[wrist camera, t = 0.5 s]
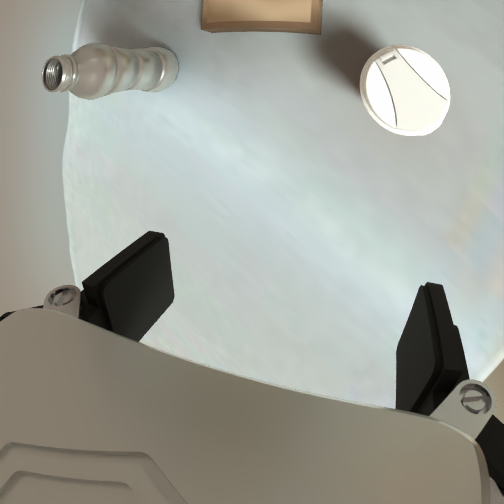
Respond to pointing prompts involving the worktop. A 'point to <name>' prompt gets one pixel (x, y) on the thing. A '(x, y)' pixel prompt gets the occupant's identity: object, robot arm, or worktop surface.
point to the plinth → (262, 16)
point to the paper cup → (405, 90)
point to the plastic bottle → (110, 70)
